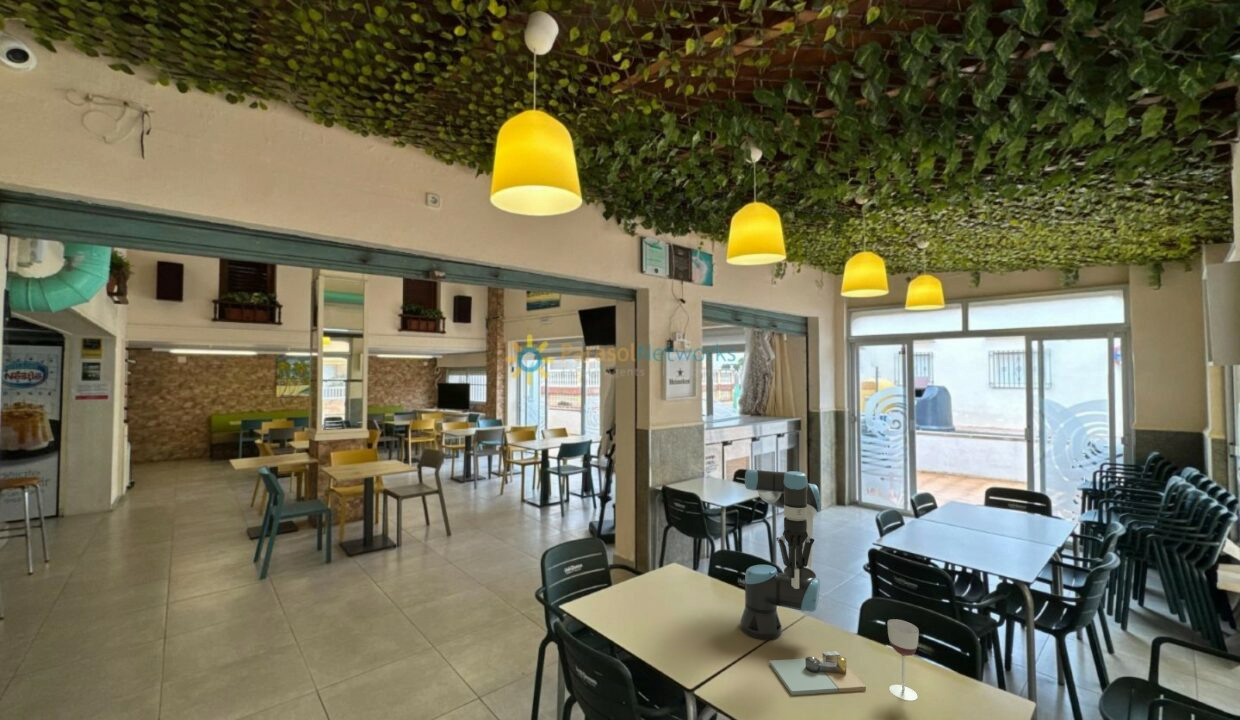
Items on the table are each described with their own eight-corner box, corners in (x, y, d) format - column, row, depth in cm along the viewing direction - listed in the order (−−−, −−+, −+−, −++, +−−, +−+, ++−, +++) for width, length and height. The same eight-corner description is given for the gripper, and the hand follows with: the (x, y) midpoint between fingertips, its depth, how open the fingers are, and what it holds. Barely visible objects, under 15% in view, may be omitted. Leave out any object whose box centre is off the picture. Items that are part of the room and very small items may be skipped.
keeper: (822, 661, 164) (822, 652, 164) (836, 660, 164) (836, 651, 165) (825, 665, 162) (825, 655, 162) (840, 664, 162) (840, 654, 163)
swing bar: (807, 672, 158) (807, 659, 158) (804, 664, 162) (804, 651, 162) (848, 675, 156) (848, 662, 156) (844, 667, 160) (844, 655, 160)
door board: (769, 664, 164) (769, 660, 164) (837, 660, 167) (837, 656, 167) (791, 695, 148) (791, 691, 148) (865, 690, 151) (865, 686, 151)
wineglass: (904, 703, 145) (904, 635, 146) (881, 685, 153) (881, 621, 154) (925, 699, 147) (925, 631, 148) (902, 681, 156) (901, 617, 156)
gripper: (782, 521, 164) (782, 592, 164) (818, 520, 166) (818, 591, 165) (772, 515, 172) (772, 583, 171) (807, 514, 173) (807, 581, 173)
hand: (795, 586), depth 168 cm, fingers closed
